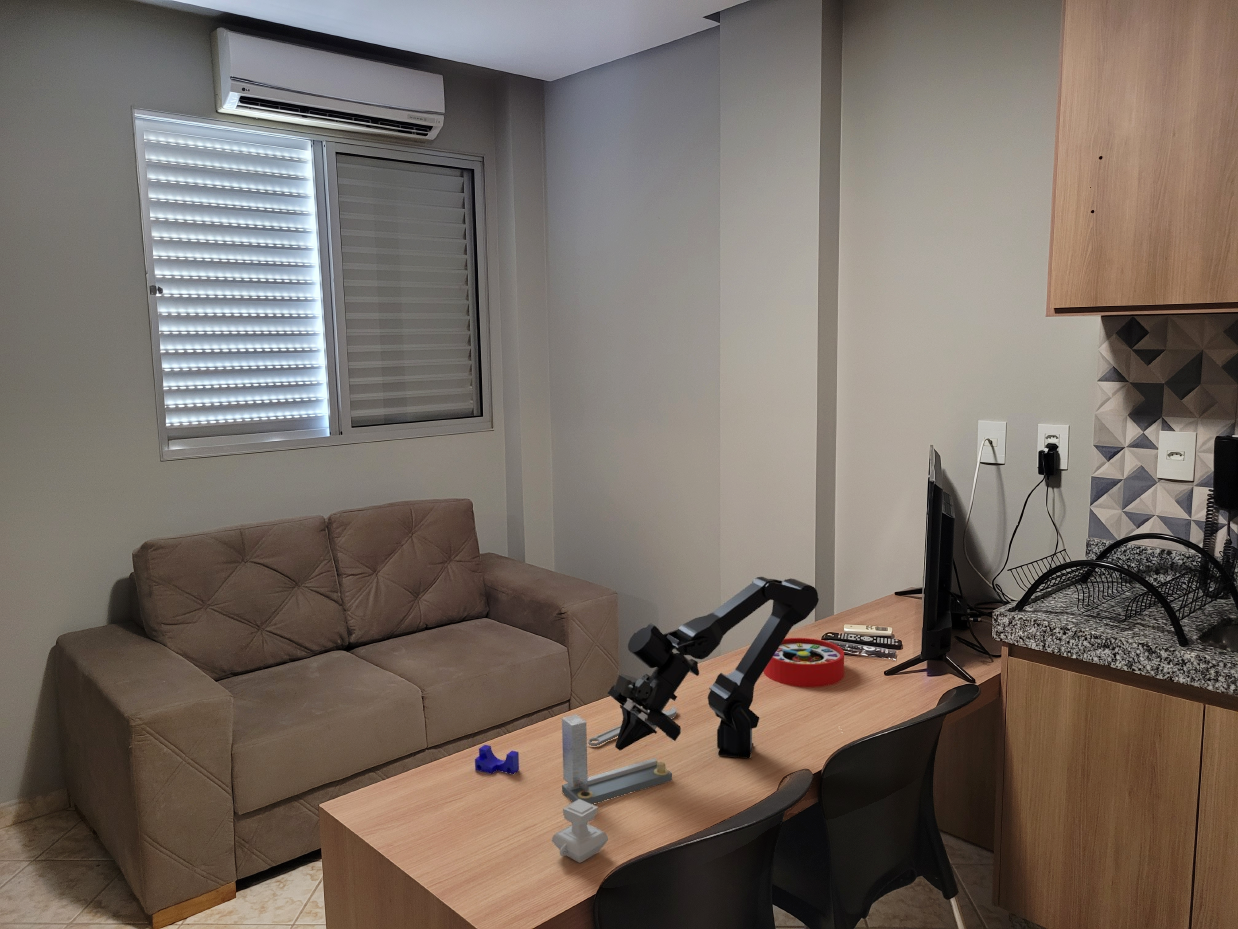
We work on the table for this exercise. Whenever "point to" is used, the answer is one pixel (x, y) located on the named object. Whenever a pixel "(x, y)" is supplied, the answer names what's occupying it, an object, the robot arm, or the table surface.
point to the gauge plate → (620, 782)
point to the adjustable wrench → (615, 731)
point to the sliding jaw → (575, 751)
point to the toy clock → (806, 663)
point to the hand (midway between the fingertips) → (617, 749)
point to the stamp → (579, 832)
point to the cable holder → (496, 761)
